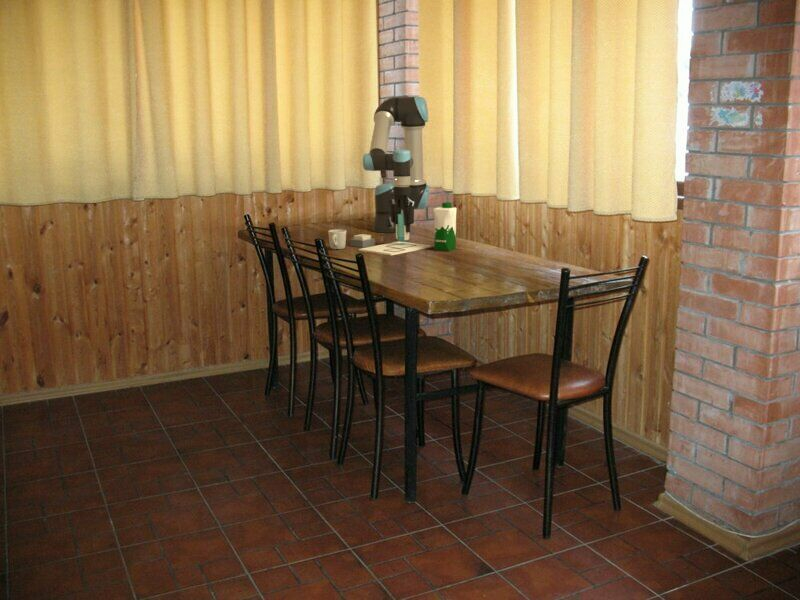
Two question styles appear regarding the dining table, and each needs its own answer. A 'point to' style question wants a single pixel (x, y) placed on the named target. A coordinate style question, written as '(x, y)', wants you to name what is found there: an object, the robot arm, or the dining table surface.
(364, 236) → the button
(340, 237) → the cup
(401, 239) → the teal cylinder
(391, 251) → the picture board
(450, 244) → the milk carton
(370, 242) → the button housing
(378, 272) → the dining table surface
